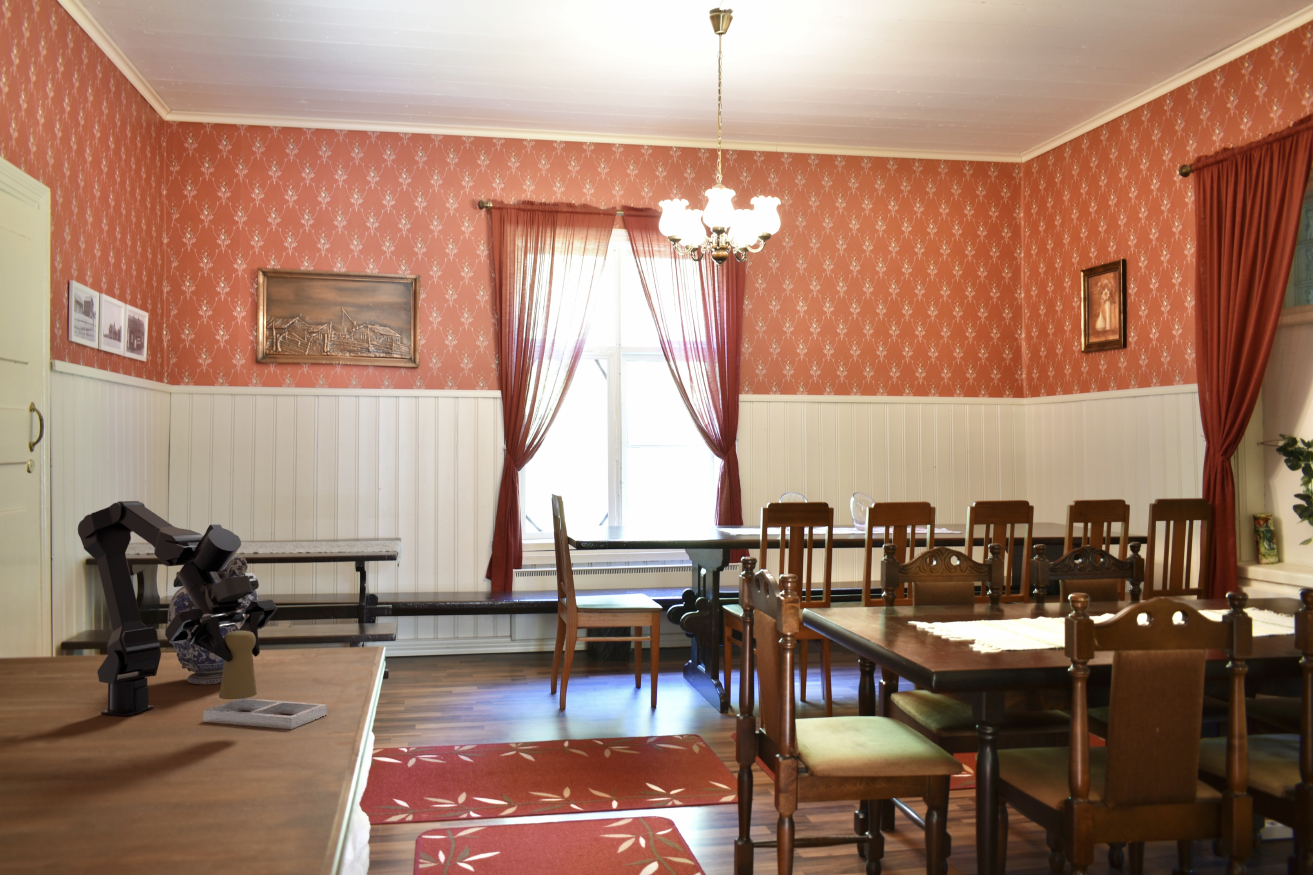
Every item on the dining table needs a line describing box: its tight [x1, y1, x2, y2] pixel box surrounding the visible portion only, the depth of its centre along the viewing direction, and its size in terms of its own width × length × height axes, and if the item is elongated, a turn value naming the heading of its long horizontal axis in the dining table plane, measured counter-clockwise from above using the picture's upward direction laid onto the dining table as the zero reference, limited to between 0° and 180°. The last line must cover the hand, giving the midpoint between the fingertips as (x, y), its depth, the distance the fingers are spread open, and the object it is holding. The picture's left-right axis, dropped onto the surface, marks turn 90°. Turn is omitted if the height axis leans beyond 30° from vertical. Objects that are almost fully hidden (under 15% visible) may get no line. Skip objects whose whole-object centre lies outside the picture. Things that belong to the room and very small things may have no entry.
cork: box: [218, 631, 258, 700], centre depth 161 cm, size 6×6×11 cm
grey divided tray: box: [202, 697, 328, 730], centre depth 171 cm, size 19×10×2 cm, turn 74°
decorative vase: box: [167, 552, 261, 685], centre depth 206 cm, size 21×19×28 cm
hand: (244, 657), depth 161 cm, fingers closed on cork, 5 cm apart
